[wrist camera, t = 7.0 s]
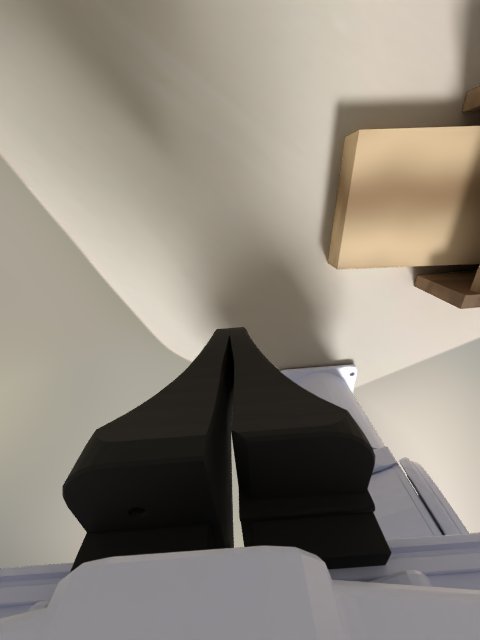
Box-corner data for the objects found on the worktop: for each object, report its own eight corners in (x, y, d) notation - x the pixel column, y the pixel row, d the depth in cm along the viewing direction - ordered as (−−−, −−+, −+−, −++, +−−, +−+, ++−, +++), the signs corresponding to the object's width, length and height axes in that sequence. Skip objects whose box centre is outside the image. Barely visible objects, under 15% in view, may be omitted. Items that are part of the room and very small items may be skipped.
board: (475, 255, 21) (505, 262, 18) (325, 261, 20) (337, 269, 18) (527, 132, 17) (572, 122, 15) (342, 138, 17) (359, 129, 14)
